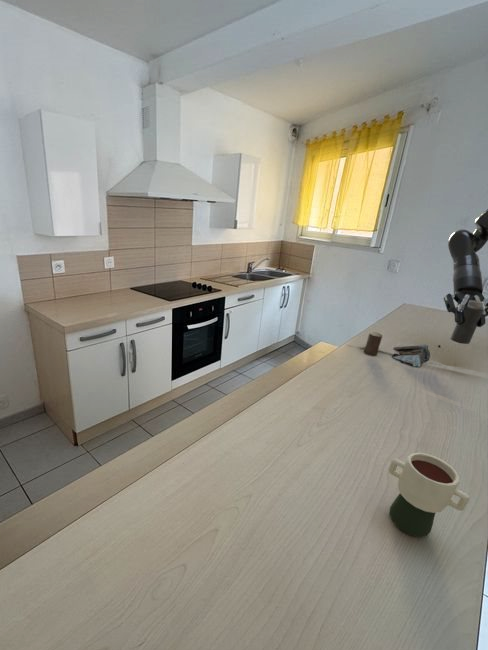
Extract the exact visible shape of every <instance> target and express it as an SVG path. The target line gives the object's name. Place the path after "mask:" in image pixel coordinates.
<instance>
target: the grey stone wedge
mask: <svg viewBox="0 0 488 650" xmlns="http://www.w3.org/2000/svg"><path fill="white" fill-rule="evenodd" d="M392 350H394V351H397V352H398V353H394V354H392V356H391V358H392V359H395V360H398V361H400V363H402V364H405V363H407V364H410V365H412V367H418V368H421V367H422V365H423V364H424V363H427V362H429V360H430V358H431V351H430V350H429V345H426V344H422V345H408V346H407V345H405V346H404V345H403V346H394V347H393V348H392Z"/></svg>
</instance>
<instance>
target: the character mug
mask: <svg viewBox="0 0 488 650" xmlns="http://www.w3.org/2000/svg"><path fill="white" fill-rule="evenodd" d="M397 467H399V468H401V469H402V470H401V472H399V471H397V470H396V469H397ZM387 471H388V473H389V474H390V475H391V476H394V477H395V478H397V479H398V481H397V488H398V492H399V494H398V495H397V496H396V498H395V499H394V501H393V502H392V504H391V505H390V506H389V516H390V518H391V520H392V522H393V523H394V524H395V525H396V527H397V528H398V529H400V530H401V531H402V532H404V533H406V534H407V535H410V536H414V537H417V538H422V537H427V536H428V535H429V534H430V533H431V531H432V529H433V525H434V520H435V516H436V514H437V513H441V512H443V511H444V510H445V509H446V508H447V507H448V506H450V507H451V508H453V509H455V510H457V511H460V512H462V511H464V510H465V509H466V507H467V505H468V503H469V502H470V496H469V495H468V494H467V493H466V492H463V491H461V490H459V489H458V486H459V484H460V476H459V474H458V473H457V471H456V470H455V468H454V467H452V466H451V464H449V463H447V462H446V461H444V460H443V459H441V458H439V457H438V456H435V455H432V454H430V453H429V454H428V453H424V452H414V453H413V452H412V453H411V454H410V455H408V456H407V458H406V460H405V462H403V461H402V460H400V459H397V458H392V459H391V461H390V464H389V466H388V470H387ZM453 496H456V497H458V498H459V500H458V502H457V501H454V500H453V499H452V498H453Z"/></svg>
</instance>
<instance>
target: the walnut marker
mask: <svg viewBox="0 0 488 650" xmlns="http://www.w3.org/2000/svg"><path fill="white" fill-rule="evenodd" d="M382 339H383V334H382V333H379V332H375V331H370V332H369V334H368V336H367V340H366V343H365V347H364V351H363V353H364V354H365V355H368V356H370V355H371V357H376V356H377V355H378V352H379V349H380V346H381V343H382Z"/></svg>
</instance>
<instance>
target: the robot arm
mask: <svg viewBox="0 0 488 650" xmlns="http://www.w3.org/2000/svg"><path fill="white" fill-rule="evenodd" d="M474 224H475V227H476V229H475V230H474V231H473V232H471V231H470V230H468V229H458V230H456V231H454V232H453V233H452V234H451V235H450V237H449V239H448V242H447V243H448V244H447V246H448V247H447V248H448V250H449V254H450V257H451V259H452V263H453V265H452V266H453V275H452V283H453V284H452V286H453V294H451V293H447V294H446V295H445V296H444V297H443V302H444V304H445V308H446V311H447V312H448V313H453V315H454V323H456V324H461V323H462V322H463V314H462V309H463V307H464V306H465V305H468V303H469V300H475V301H480V302H483V305H482V308H483V309H484V311H483V313H482V316H481V318H480V320H479V323H478V325H477V327H476V328H481V327H483V326H484V325H486V322H487V321H486V318H487V317H488V298H486V297H485V296H484V295H483V291H484V287H483V276H482V271H481V263H480V257H479V255H478V254H477V253H478V252H479V251H480V250H481V249H482V248H483V247H484V246H485V245H486V244H487V242H488V208H487V209H486V210H485V211H483V213H481V214H480V215H479V216H478V217H477V218H476V219H475V221H474ZM454 301H455V302H456V305H455V302H454Z"/></svg>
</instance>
